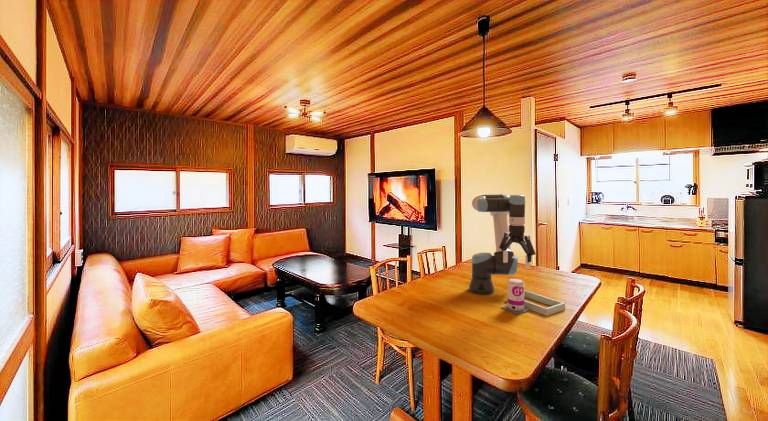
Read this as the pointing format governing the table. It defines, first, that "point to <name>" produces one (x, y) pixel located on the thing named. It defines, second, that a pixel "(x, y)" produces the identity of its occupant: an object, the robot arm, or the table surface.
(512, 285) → the supplement can
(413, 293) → the table surface
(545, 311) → the grey rectangular frame
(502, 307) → the mat
